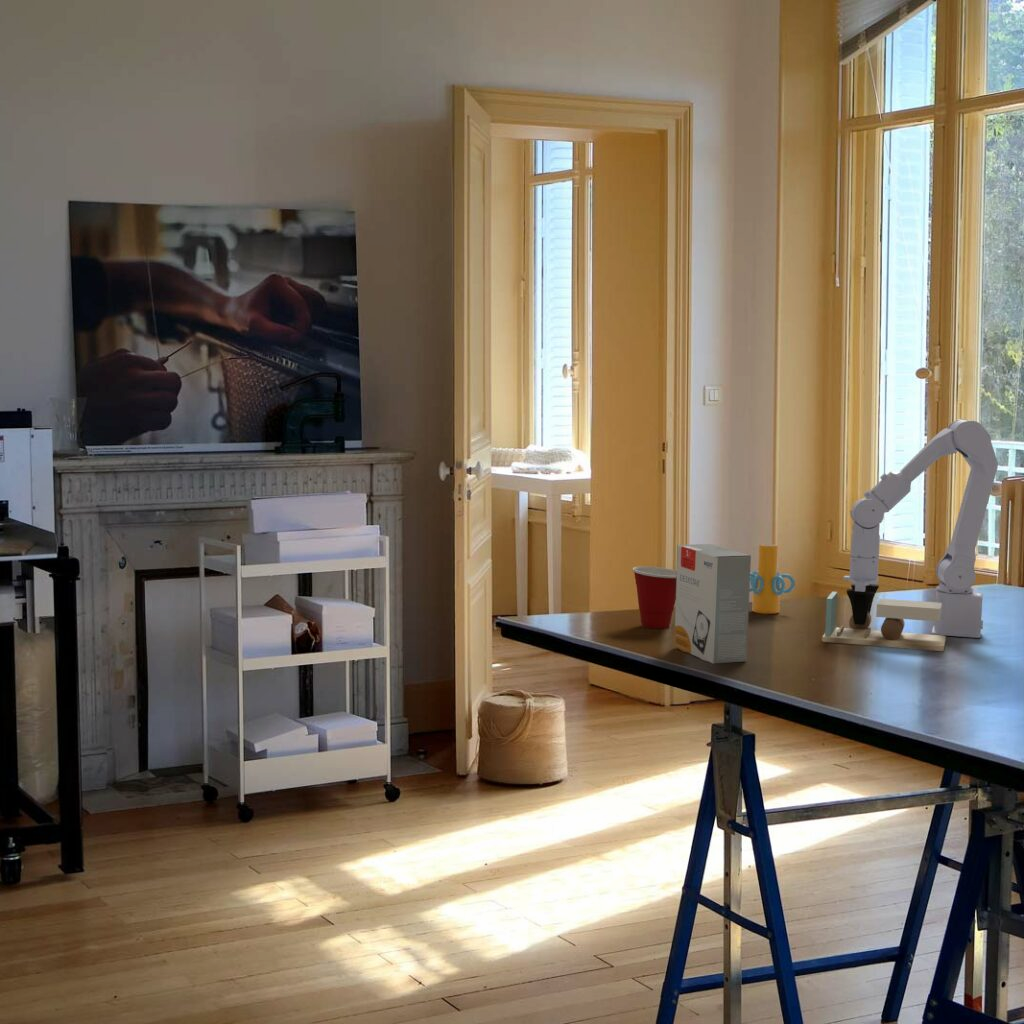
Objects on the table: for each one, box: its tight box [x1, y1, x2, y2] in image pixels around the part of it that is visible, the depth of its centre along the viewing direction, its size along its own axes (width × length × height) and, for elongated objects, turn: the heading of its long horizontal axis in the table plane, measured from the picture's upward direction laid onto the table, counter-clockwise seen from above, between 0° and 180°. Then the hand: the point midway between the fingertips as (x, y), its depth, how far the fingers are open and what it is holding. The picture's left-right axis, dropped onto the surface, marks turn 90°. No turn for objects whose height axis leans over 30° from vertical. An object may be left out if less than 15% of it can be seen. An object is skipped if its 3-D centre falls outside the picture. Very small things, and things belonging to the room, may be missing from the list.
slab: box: [875, 598, 942, 622], centre depth 280 cm, size 12×8×2 cm, turn 71°
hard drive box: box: [673, 543, 752, 664], centre depth 264 cm, size 16×8×20 cm, turn 21°
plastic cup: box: [632, 566, 677, 630], centre depth 293 cm, size 11×11×12 cm
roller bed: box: [821, 591, 947, 652], centre depth 282 cm, size 23×12×8 cm, turn 71°
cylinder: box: [749, 543, 796, 615], centre depth 314 cm, size 12×10×15 cm
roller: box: [848, 612, 872, 630], centre depth 295 cm, size 4×6×4 cm
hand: (861, 621), depth 294 cm, fingers open, 7 cm apart
